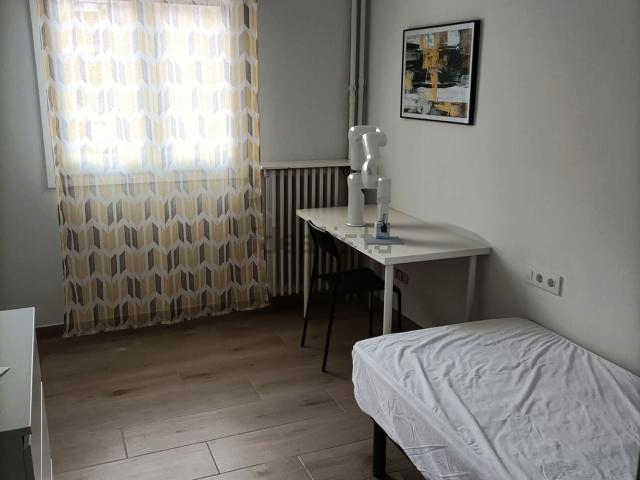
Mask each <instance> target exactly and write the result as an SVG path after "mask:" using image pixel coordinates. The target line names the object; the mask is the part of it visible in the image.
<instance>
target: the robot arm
mask: <svg viewBox="0 0 640 480" xmlns="http://www.w3.org/2000/svg"><path fill="white" fill-rule="evenodd" d="M348 142H349V147H350V152H349V153H350V156H349V157H350V162H349V163H350V165H349V166H350V169H351V170H353V171H361V172H353V173H350V174H349V175H348V176H347V186H348V190H347V191H348V204H347V206H348V207H347V220H346V221H345V222H344V224H345V225H346V226H349V227H364V226H365V227H366V225H367V223H366V222H365V221H364V214H365V211H364V210H365V194H364V193H363V191H362V190H363V189H367V190H372V189H373V190H374V189H375V190H377V192H376V203H377V207H376V209H377V210H376V219H377V222H382V225H381V233H387V222H389V212H390V211H389V208H390V205H389V204H391V201H392V200H391V199H392V184H393V183H392V178H391V177H388V176H387V175H385V174H378V173H377V169H378V167H377V165H378V161H380V160H381V158H382V155H381V150H380V148H384V147H387V144H388V138H387V134H386V132H385V131H384V130H383V129H381V128H380V127H379V126H377V125H353V126H351V127H350V128H349V130H348Z"/></svg>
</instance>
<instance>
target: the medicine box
mask: <svg viewBox="0 0 640 480" xmlns="http://www.w3.org/2000/svg"><path fill="white" fill-rule="evenodd" d="M381 225H382V222H378V221H375V222H374V227H373V229H374V230H373V231H374V232H373V234H374V235H373V236H374V237H375V238H376V239H388V238H389V236H391V235H390V234H391V233H390V232H391V223H390V222H389V221H387V233H381Z"/></svg>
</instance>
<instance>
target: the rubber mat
mask: <svg viewBox="0 0 640 480" xmlns="http://www.w3.org/2000/svg"><path fill="white" fill-rule="evenodd" d="M363 240H364V242H365V243H366V245H405V242H404V241H403V240H402V239H401V238H400V236H396V235H395V236H393V235H392V236H391V235H390V236H389V238H388V239H376V238H375V237H374V235H373V236H371V235H370V236H364V235H363Z"/></svg>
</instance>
